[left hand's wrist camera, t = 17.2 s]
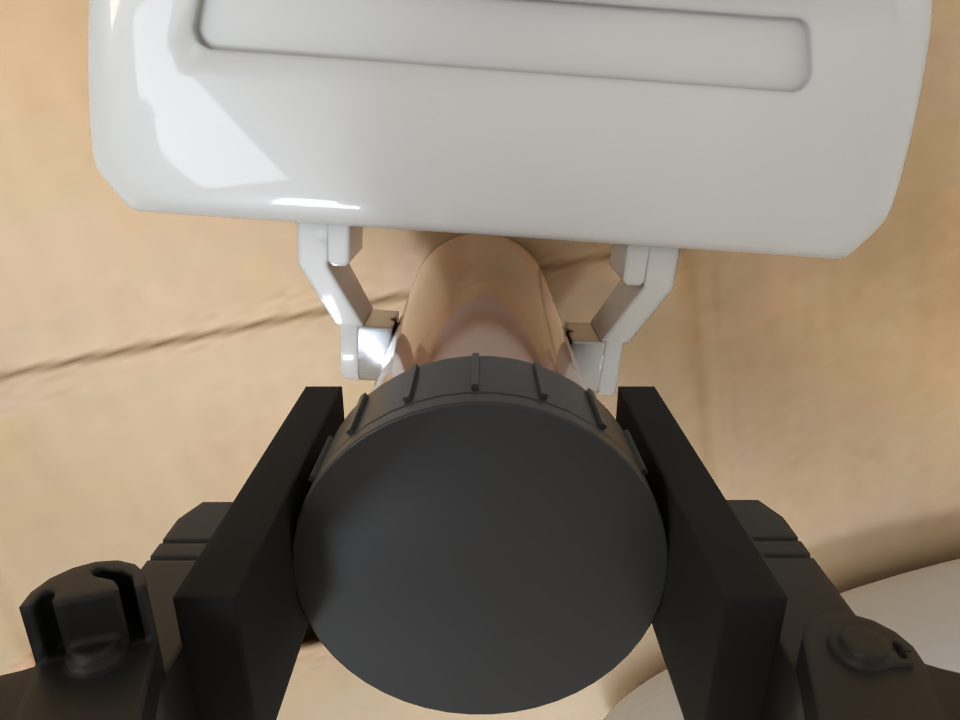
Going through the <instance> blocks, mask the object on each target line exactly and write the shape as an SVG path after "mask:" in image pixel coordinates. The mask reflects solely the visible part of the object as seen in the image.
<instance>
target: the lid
mask: <svg viewBox="0 0 960 720" xmlns="http://www.w3.org/2000/svg"><path fill="white" fill-rule="evenodd" d="M647 473H648V471H647V469H646V467H645V465H644V463H643V461H642V458H641V456H640V454H639V452H638V450H637V448H636V445H635V443H634V441H633V439H632V437H631V435H630V433H629V431H628V429H626V430H624V431H623V430H622V428H621V426H620V425H619V424H618V422H617V421H616V420H615V418H614V417H613V416H612V415H611V413H610V412H609V411H608V409H606V408H605V407H604V406H603V405H602V404H601V403H600V402H599V401H598V400H597V399H596V396H595V394H594V391H593V390H591V389H590V388H588V389H587V390H585V389H584V388H582V387H581V386H580V385H578V384H577V383H575V382H573V381H572V380H570V379H568V378H566V377H564V376H562V375H561V374H559V373H557V372H555V371H552V370H549V369H547V368H544V367H542V366H541V363H540V362H537V361H534V364H533V363H529V362H525V361H521V360H517V359H512V358H504V357H496V356H479V353H472V356H464V357H456V358H448V359H443V360H439V361H435V362H431V363H427V364H423V365H421V366H418V364H414V365H412V366H411V369H410V370H408V371H406V372H403V373H401V374H399V375H398V376H396V377H394V378H392V379H390V380H389V381H387V382H385V383H383V384H382V385H381V386H379V387H378V388H377V389H375V390H374V391H373V392H371V393H370V394H369V395H367V394H366V393H364V394H363V395H361V397H360V399H359V402H358V404H357V406H356V407H355V408H354V409H353V410H352V411H351V412H350V414H349V415H348V416H347V417H346V419H345V420H344V421H343V423H342V424H341V425H340V427H339V429H338V430H337V432H336V434H335V436H334V437H332V436H330V435H329V437H328V439H327V441H326V443H325V445H324V447H323V449H322V451H321V453H320V456H319V458H318V460H317V462H316V464H315V466H314V468H313V471H312V473H311V475H310V477H309V479H308V480H309V481H311V482H313V483H312V485H311V487H310V489H309V492H308V494H307V496H306V498H305V500H304V503H303V505H302V508H301V511H300V514H299V516H298V519H297V522H296V527H295V532H294V537H293V542H292V561H293V570H294V578H295V586H296V591H297V595H298V598H299V602H300V605H301V607H302V609H303V612H304V614H305V616H306V618H307V620H308V623H309V624H310V626H311V627H312V629H313V630H314V632H315V634H316V635H317V637H318V638H319V640H320V641H321V642H322V643H323V645H324V646H325V647H326V648H327V649H328V651H329V652H330V653H331V654H332V655H333V656H334V657H335V658H336V659H337V660H338V661H339V662H340V663H341V664H342V665H344V666H345V667H346V668H347V669H348V670H349V671H351V672H352V673H353V674H355V675H356V676H358V677H359V678H360V679H362V680H363V681H364V682H366V683H368V684H370V685H371V686H373V687H375V688H377V689H378V690H380V691H382V692H384V693H386V694H388V695H391V696H393V697H395V698H398V699H400V700H402V701H405V702H408V703H411V704H415V705H418V706H421V707H424V708H429V709H434V710H439V711H444V712H451V713H461V714H499V713H509V712H517V711H522V710H527V709H531V708H536V707H539V706H543V705H546V704H549V703H552V702H555V701H558V700H560V699H563V698H565V697H567V696H570V695H572V694H574V693H577V692H578V691H580V690H582V689H584V688H586V687H587V686H589V685H591V684H593V683H594V682H596V681H597V680H599V679H600V678H601V677H603V676H604V675H606V674H607V673H608V672H610V671H611V670H612V669H614V668H615V667H616V666H617V665H618V664H619V663H620V662H621V661H622V660H623V659H624V658H625V657H627V656H628V655H629V653H630V652H631V651H632V650H633V649H634V647H635V646H636V645H637V644H638V643H639V641H640V640H641V639H642V637H643V636H644V634H645V632H646V631H647V629H648V628H649V626H650V625H651V623H652V621H653V619H654V617H655V614H656V612H657V610H658V608H659V605H660V603H661V599H662V596H663V592H664V589H665V582H666V574H667V566H668V541H667V536H666V531H665V526H664V521H663V518H662V516H661V513H660V510H659V508H658V505H657V503H656V500H655V498H654V496H653V493H652V491H651V489H650V487H649V484H648V482H647V480H646V478H645V476H644V475H645V474H647Z"/></svg>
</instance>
